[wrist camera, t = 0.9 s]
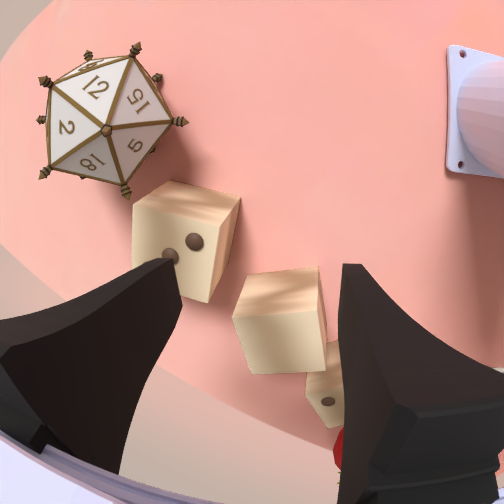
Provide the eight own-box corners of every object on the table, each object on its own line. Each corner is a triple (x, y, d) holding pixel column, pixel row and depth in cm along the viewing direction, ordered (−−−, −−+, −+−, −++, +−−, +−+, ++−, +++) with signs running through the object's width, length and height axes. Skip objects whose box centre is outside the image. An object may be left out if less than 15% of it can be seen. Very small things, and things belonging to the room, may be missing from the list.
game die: (157, 132, 23) (65, 226, 19) (101, 45, 18) (-12, 133, 14) (242, 118, 18) (121, 248, 13) (173, -8, 12) (-1, 97, 8)
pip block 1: (241, 196, 21) (219, 227, 16) (228, 262, 23) (207, 304, 19) (168, 179, 21) (129, 204, 17) (162, 243, 23) (129, 280, 19)
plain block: (318, 265, 22) (317, 310, 18) (326, 322, 24) (325, 370, 20) (248, 274, 23) (231, 317, 19) (263, 327, 25) (251, 374, 21)
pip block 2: (367, 329, 24) (373, 378, 19) (382, 368, 25) (388, 415, 21) (307, 348, 25) (303, 396, 21) (328, 383, 27) (326, 430, 23)
